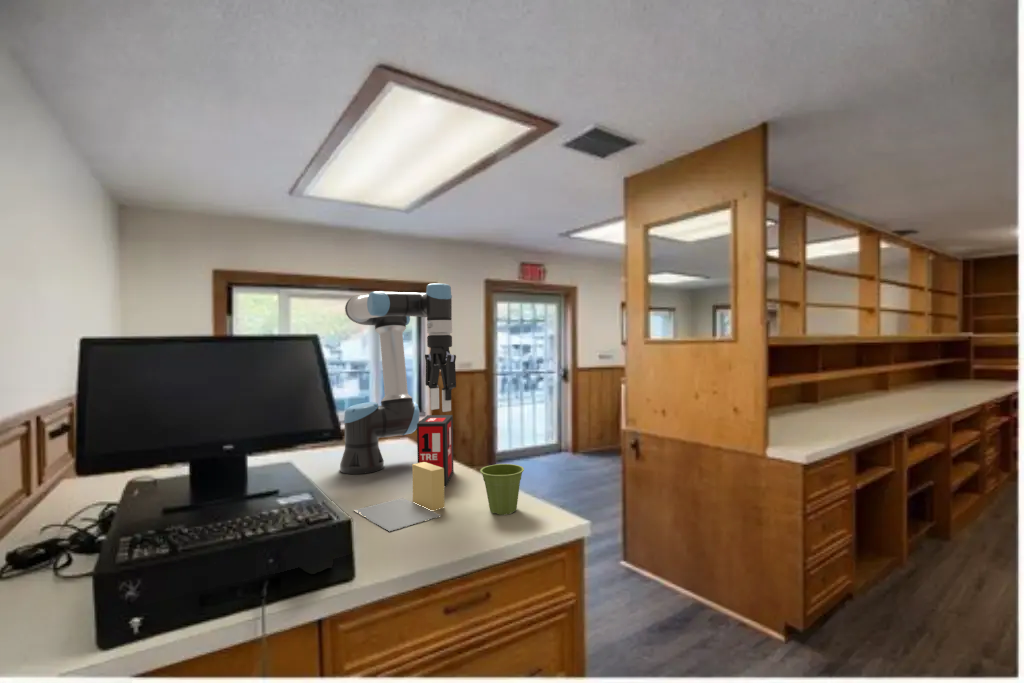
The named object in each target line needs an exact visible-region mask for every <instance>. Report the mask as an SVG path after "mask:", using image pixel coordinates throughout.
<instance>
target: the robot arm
mask: <svg viewBox="0 0 1024 683" xmlns="http://www.w3.org/2000/svg"><path fill="white" fill-rule="evenodd" d="M452 298H453V295H452V288H451V285H450V284H448V283H429V284H427V285H426V290H425V292H405V291H403V292H400V291H399V292H398V291H384V290H379V291H370V293H369V294H360V295H355V296H352V297H351V298H349V299H348V300H347V302H346V303H345V306H344V312H345V315H346V316H347V318H348V319H349V321H352V322H353V323H355V324H359V325H363V326H374V331H375V332H376V333H377V334H379V340H380V353H381V354H380V355H381V365H382V367H381V368H382V377H383V378H382V379H383V390H384V397H383V398H382V399H381V400H380V404H381V405H379V404H378V402H376V401H371V402H370V401H369V402H363V403H362V402H361V403H357V404H353V405H351V406H349V407H347V408H346V409H345V411H344V419H343V423H344V450H343V454H342V457H341V460H340V463H339V464H340V465H339V471H340V472H341V473H343V474H348V475H349V474H350V475H362V474H370V473H375V472H378V471H381V470H382V469H384V468H385V465H384V463H385V460H384V458H383V455H382V452H381V450H380V446H379V439H380V438H389V437H390V438H391V437H398V436H405V435H409V434H410V435H411V434H413V433H414V432H416V431H417V423H418V422H420V408H419V405H418V403H417V402H413V401H414V400H413V397H412V396H411V395H410V394H409V392H408V382H407V381H408V378H407V370H406V369H407V368H406V358H405V347H404V334H403V333H404V332H405V331H406V330H407V326H408V325H409V324H410V321H411V317H420V318H426V321H427V322H426V331H427V332H426V333H427V334H428V335H427V338H426V343H427V345H426V346H427V347H428V348H430V352H429V353H426V354H424V360H425V381H424V382H425V386H428V388H429V398H430V410H431V411H433V410H439V409H440V388H439V387H440V385H438V384H439V376H440V374H441V381H442V388H441V404H442V405H441V407H442V408H441V410H442V412H443V413H447V412H451V411H452V390H453V389H455V388H456V387H457V377H456V376H457V374H456V373H457V372H456V361H457V360H456V359H457V355H456V354H451V352H450V348H452V347H453V336H452V335H451V334H452V333H453V320H452V318H453V316H452V315H453V314H452V304H453V303H452V301H453V300H452Z"/></svg>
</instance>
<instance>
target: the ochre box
mask: <svg viewBox="0 0 1024 683" xmlns="http://www.w3.org/2000/svg"><path fill="white" fill-rule="evenodd" d="M411 465H412V466H411V467H412V502H415V503H417V504H419V505H421V506H424V507H426V508H428V509H430V510H435V511H437V510H436V509H439V508H442V509H444V508H443V507H446V506H445V505H446V504H445V487H444V468H442V467H439V466H436V465H433V464H430V463H427V462H421V463H418V462H417V463H412V464H411ZM439 510H440V509H439Z"/></svg>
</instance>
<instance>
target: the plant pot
mask: <svg viewBox="0 0 1024 683" xmlns="http://www.w3.org/2000/svg"><path fill="white" fill-rule="evenodd" d="M524 470H525V468H524V467H523V466H521V465H518V464H513V463H497V464H492V465H487V466H483V467H481V468H480V469H479V472H480V473H481V474H482V478H483V482H484V484H485V485H484V486H485V490H486V495H487V501H488V506H489V511H490V513H491V514H497V515H501V516H504V515H510V514H512V513H514V512H516V511H517V509H518V501H519V493H520V487H521V486H520V484H521V480H522V475H523V472H524Z"/></svg>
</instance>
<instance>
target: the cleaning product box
mask: <svg viewBox="0 0 1024 683" xmlns="http://www.w3.org/2000/svg"><path fill="white" fill-rule="evenodd" d="M453 416H454V415H453V414H440V415H439V414H436V415H435V414H434V415H429V414H427V415H426V416H425V417H424V418H422V419H421V420H419V422H418V423H417V429H416V440H417V441H416V442H417V444H416V445H417V446H416V448H417V451H416V452H417V463H421V462H427V463H430V464H433V465H436V466H439V467H442V468H444V486H446V485H447V486H448V484H447V483H449V482H448V481H450V480H451V477H452V476H453V474H454V422H453V420H454V417H453ZM449 479H450V480H449ZM447 486H446V487H447Z"/></svg>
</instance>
